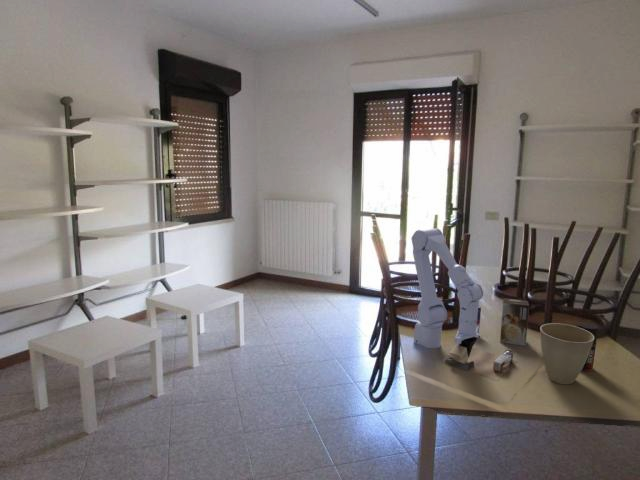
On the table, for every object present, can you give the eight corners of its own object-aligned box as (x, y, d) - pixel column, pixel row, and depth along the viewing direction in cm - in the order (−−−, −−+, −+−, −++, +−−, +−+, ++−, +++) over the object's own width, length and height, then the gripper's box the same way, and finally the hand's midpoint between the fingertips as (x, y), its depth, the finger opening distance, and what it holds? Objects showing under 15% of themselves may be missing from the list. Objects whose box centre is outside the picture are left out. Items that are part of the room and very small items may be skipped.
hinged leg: (505, 358, 152) (506, 349, 151) (513, 361, 150) (514, 351, 149) (492, 369, 143) (493, 360, 143) (501, 372, 141) (501, 363, 141)
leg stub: (451, 362, 148) (449, 352, 146) (457, 354, 150) (455, 344, 148) (463, 366, 145) (461, 356, 143) (468, 358, 148) (466, 347, 145)
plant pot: (526, 368, 147) (530, 323, 144) (568, 367, 148) (574, 322, 145) (552, 391, 133) (558, 342, 130) (598, 390, 134) (606, 341, 131)
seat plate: (440, 364, 149) (441, 354, 149) (464, 348, 162) (465, 339, 162) (496, 384, 137) (497, 373, 136) (517, 365, 150) (518, 355, 149)
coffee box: (524, 340, 170) (529, 300, 167) (525, 346, 164) (530, 305, 161) (499, 336, 173) (503, 297, 170) (499, 342, 168) (503, 302, 165)
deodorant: (585, 372, 145) (591, 330, 142) (568, 365, 150) (573, 323, 147) (596, 369, 147) (602, 326, 145) (579, 361, 153) (584, 320, 150)
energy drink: (479, 337, 172) (482, 308, 169) (465, 336, 173) (467, 307, 170) (477, 332, 177) (480, 304, 175) (463, 331, 178) (466, 303, 176)
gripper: (470, 328, 139) (467, 368, 142) (488, 316, 150) (485, 353, 152) (449, 322, 144) (446, 361, 147) (468, 311, 155) (465, 347, 157)
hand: (465, 356), depth 150 cm, fingers closed
